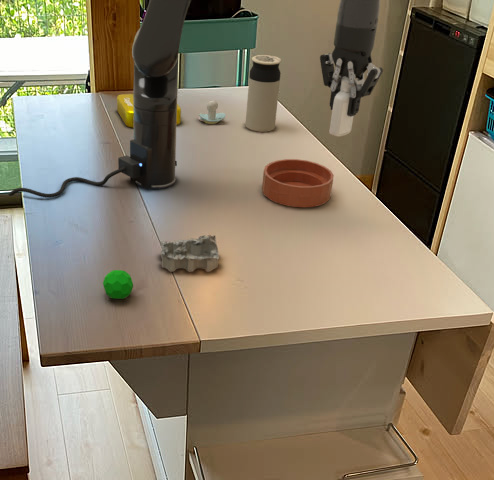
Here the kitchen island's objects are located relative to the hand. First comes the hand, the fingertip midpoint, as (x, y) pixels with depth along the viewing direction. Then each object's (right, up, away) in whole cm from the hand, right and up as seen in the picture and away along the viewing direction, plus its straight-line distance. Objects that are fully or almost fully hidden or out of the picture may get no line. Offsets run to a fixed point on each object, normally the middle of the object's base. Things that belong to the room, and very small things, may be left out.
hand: (343, 112), depth 142 cm
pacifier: (-26, +12, +51) cm, 59 cm away
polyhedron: (-42, -38, -22) cm, 61 cm away
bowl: (-7, -13, +16) cm, 22 cm away
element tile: (-43, +14, +51) cm, 69 cm away
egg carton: (-31, -31, -11) cm, 45 cm away
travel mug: (-13, +10, +50) cm, 53 cm away
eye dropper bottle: (0, -4, +3) cm, 4 cm away
